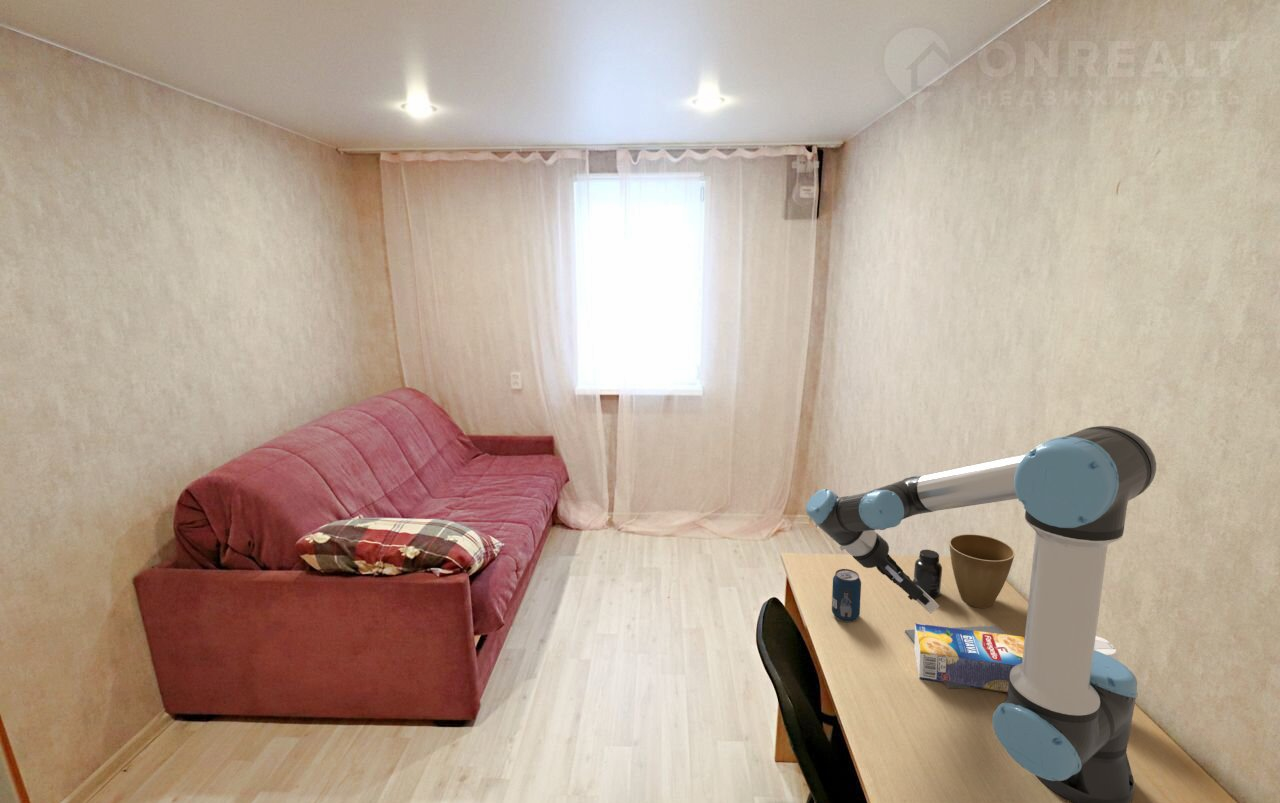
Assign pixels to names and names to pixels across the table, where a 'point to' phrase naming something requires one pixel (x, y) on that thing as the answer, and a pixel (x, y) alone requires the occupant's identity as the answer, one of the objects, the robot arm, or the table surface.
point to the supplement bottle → (928, 572)
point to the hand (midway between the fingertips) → (933, 608)
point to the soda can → (846, 595)
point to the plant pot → (980, 567)
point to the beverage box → (967, 656)
